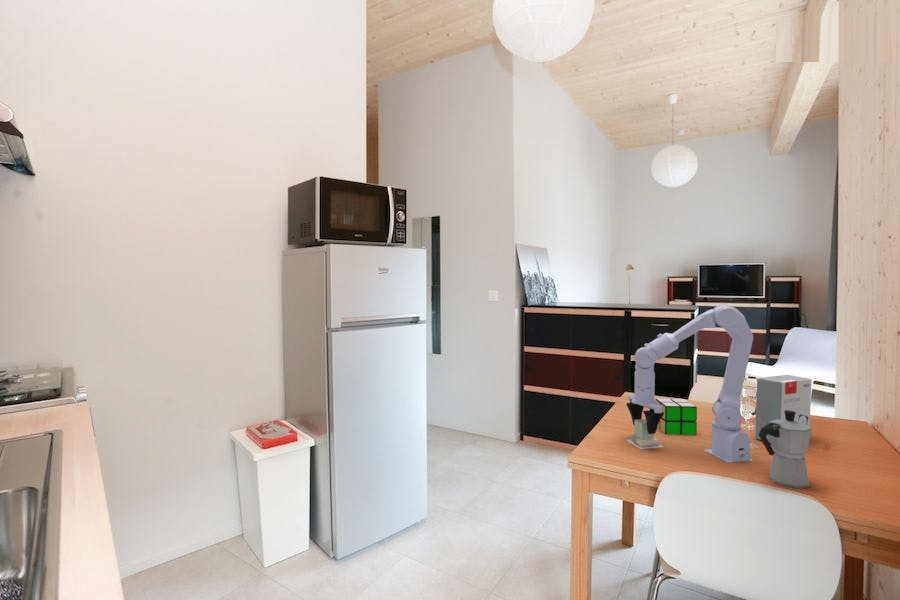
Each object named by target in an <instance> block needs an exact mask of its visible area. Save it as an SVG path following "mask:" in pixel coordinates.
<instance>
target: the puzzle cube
mask: <svg viewBox="0 0 900 600" xmlns="http://www.w3.org/2000/svg"><path fill="white" fill-rule="evenodd" d="M655 401H656V402H657V403H658V404H659V405H660V406H662V412H664V415H663V416H662V418H661V419H660V421H659V423H658V426H657V429H659V430H660V431H661V432H662V433H663V434H665V435H675V436H677V435H683V436H697V430H698V429H697V428H698V427H697V425H698V423H697V420H698V419H697V418H698V407H697V406H696V405H694V404H693V403H691V402H690V401H688V400H686V399H685V398H655Z"/></svg>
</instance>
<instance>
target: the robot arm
mask: <svg viewBox="0 0 900 600" xmlns="http://www.w3.org/2000/svg"><path fill="white" fill-rule="evenodd" d="M716 325H718V326H719V327H721V328H722V329H724V330H725V332H726V333H727V335H729V336H730V338H731V344H730V348H729V352H728V358H727V363H726V367H725V371H724V375H723V380H722V386H721V389H720V392H719V393H718V397H717V399H716V401H715V402H714V403H713V404H712V406H711V410H712V413H713V415H714V416H715V418H714V419H713V420H712V421H711V448H710V449H709V448H708V449H704V452H706V453H709V454H710V455H712V456H714V457H717V458H718V459H719V460H722V461H724V462H725V463H730V464H731V463H740V462H741V463H742V462H753V461H754V460H753V459H752V458H751V438H750V436H749V435H748V433H747V432H746V433H745V432H744V430H743V429H742V426H741V423H742V419H743V418H742V417H743V416H742V414H741V407H742V406H741V403H742V402H741V396H742V390H743V388H744V387H743V386H744V381H745V377H746V374H747V373H746V372H747V367H748V364H749V363H748V362H749V359H750V354H751V351H752V346H753V342H754V334H753V331H752V330H751V328H750V326H749V324H748V322H747V320H746V317H745V315H744V314H743V313H742V312H741V311H739V309H737V308H736V307H734V306H730V305H729V304H718V305H716V306H714V307H713V309H709V310H706V311H705V312H703V313H701V314H699V315H698V316H696V317H695V318H693V319H692V320H691V321H689V322H687V323H686V324H685V325H683V326H681V327H680V328H679V329H677V330H676V331H674V332H673V333H669V332H665V333H663V334H662V333H659V334H657V337H656V338H655V339H654V340H653V339H652V341H650V342H648V343H644V346H643V347H640V348H638V349H637V350H636V352H635V354H634V362H635V365H634V369H635V371H634V394H628V397H627V398H628V399H627V400H628V401H629V402H626V404H625V405H626V407H627V408H628V411H629V414H630V417H631V420H632V424H633V426H634V421H635V420H638V419H643V418H642V417H643V414H644V417H645V419H646V421H647V431H648V434H654V435H655V434H656V432H657V429H658V427H657V426H658V423H659V421H660V419H661V418H662V416H663V415H664V412H662V406H660V405H659V404H658V403H657V402H656V401H655V399H656V398H655V391H656V390H655V385H656V383H655V381H656V380H655V379H656V373H655V370H654V369H655V363H656V361H658V360H662V359H663V358H665V357H667V356H668V355H669V354H671V353H673V352H674V351H676V350H678V348H679V344H680V342H681V343H682V341H685V340H686V339H687V338H689V337H691V336H693V335H695V334H696V333H698V332H699V331H701V330H703V329H712V328H713V329H716V328H717V326H716ZM645 408H646V409H648V410H644V409H645Z"/></svg>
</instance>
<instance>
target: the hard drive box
mask: <svg viewBox="0 0 900 600" xmlns="http://www.w3.org/2000/svg"><path fill="white" fill-rule="evenodd" d="M756 380H757V381H756V399H755V400H756V403H755V406H756V407H755V422H754V423H755V424H754V425H755V426H754V439H757V440H759V441H762V440H761V438H760V437H759V433H760V430H761V428H762V427H764V426H766V424H767V423H769V422H770V421H772V420H782V419H786V418H785V412H784V411H785V410H790V411H794V412H796V414H795V418H794V421H797V422H800V423H803V424H806V425H810V426H811V406H812V405H811V402H812V381H813V380H812V378H806V377H802V376H796V375H791V374H781V375H774V376H765V377H757V379H756ZM766 438H767V440H768V441H769V443H770V445H772V443H771V435H768V434H767V436H766Z"/></svg>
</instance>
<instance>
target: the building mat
mask: <svg viewBox="0 0 900 600" xmlns="http://www.w3.org/2000/svg"><path fill="white" fill-rule="evenodd" d="M625 441H626V442H628V443H629V444H631V445H633V446H634V447H636V448H637V449H639V450H645V449H646V450H647V449H656V448H657V449H659V448H664V446H663V445H661V444H659V446H653V447H639V446H638V445H636V444H635V443H633V442H631V441H630V438H629V439H625Z"/></svg>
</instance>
